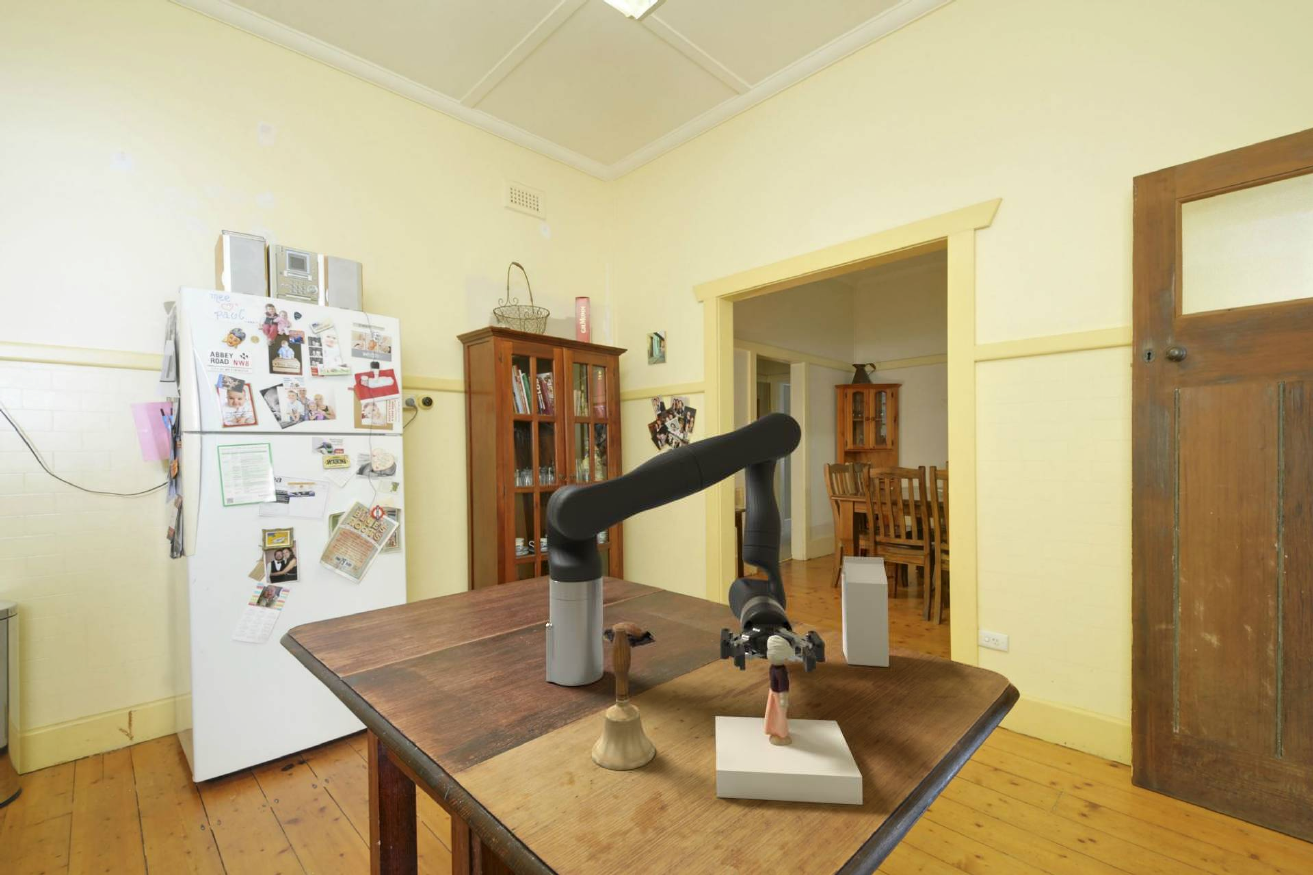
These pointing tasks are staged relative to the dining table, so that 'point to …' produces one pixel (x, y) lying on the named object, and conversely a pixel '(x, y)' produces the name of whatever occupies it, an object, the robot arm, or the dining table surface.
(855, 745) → the dining table surface
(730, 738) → the stone slab
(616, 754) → the hand bell
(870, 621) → the milk carton
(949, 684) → the dining table surface
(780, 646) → the grandmother figurine
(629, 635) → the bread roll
